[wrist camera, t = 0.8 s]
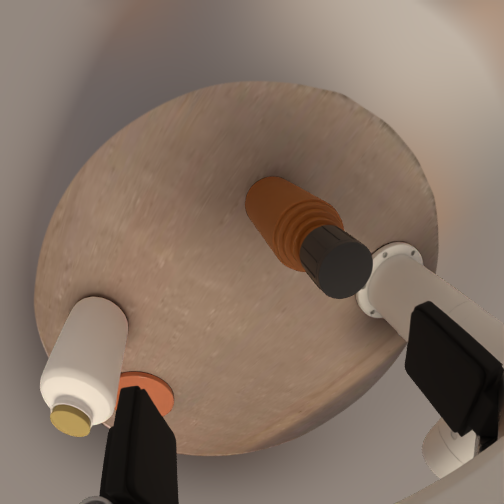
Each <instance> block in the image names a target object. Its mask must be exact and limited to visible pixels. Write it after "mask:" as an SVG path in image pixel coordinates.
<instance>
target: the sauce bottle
mask: <svg viewBox="0 0 504 504" xmlns="http://www.w3.org/2000/svg"><path fill="white" fill-rule="evenodd" d="M245 207H246V212H247V215H248V217H249V218H250V220H251V221H252V222H253V224H254V225H255V227H256V228H257V229H258V231H259V232H260V234H261V235H262V236H263V238H264V239H265V241H266V242H267V244H268V245H269V246H270V248H271V249H272V251H273V252H274V253H275V255H276V256H277V258H278V259H279V260H280V261H281V262H282V263H283V264H284V265H285V266H287V267H289V268H291V269H294V270H296V271H300V272H306V270H305V269H304V268H303V266H302V264H301V261H300V248H301V245H302V243H303V241H304V239H305V238H306V236H307V235H308V234H309V233H310V232H311V231H312V230H314V229H316V228H318V227H320V226H324V225H334V226H337V227H339V228H341V229H342V230H343V231H344V227H343V223H342V220H341V218H340V216H339V214H338V213H337V211H336V210H335V209H334V208H333V207H332V206H331V205H330V204H328V203H327V202H325V201H323V200H321V199H319V198H318V197H316V196H314V195H312V194H311V193H309V192H307V191H305V190H303V189H301V188H300V187H298V186H296V185H294V184H292V183H290V182H289V181H287V180H285V179H283V178H280V177H266V178H263V179H261V180H259V181H257V182H256V183H255V184H254V185H253V186H252V187H251V188H250V190H249V192H248V194H247V196H246V201H245Z"/></svg>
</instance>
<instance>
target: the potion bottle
mask: <svg viewBox="0 0 504 504" xmlns="http://www.w3.org/2000/svg"><path fill="white" fill-rule="evenodd" d="M127 335H128V322H127V319H126V317H125V314H124V313H123V312H122V311H121V309H120V308H119V307H118V306H117V305H115V304H114V303H113V302H111V301H109V300H107V299H104V298H101V297H88V298H84V299H82V300H80V301H79V302H77V303H76V304H75V306H74V307H73V308H72V310H71V312H70V314H69V316H68V318H67V320H66V322H65V324H64V326H63V328H62V330H61V333H60V335H59V337H58V339H57V341H56V343H55V346H54V348H53V350H52V352H51V355H50V357H49V359H48V362H47V364H46V366H45V369H44V371H43V374H42V376H41V381H40V390H41V393H42V396H43V398H44V401H45V402H46V403H47V405H48V406H49V407H50V408H51V415H50V419H51V422H52V423H53V425H54V426H55V427H56V428H57V429H59V430H60V431H62V432H64V433H65V434H68V435H71V436H76V437H83V436H86V435H88V434H89V433H90V428H91V427H92V425H96V424H99V423H102V422H104V421H106V420H107V419H108V418H110V417H111V416H112V414H113V411H114V409H115V406H116V399H117V393H118V386H119V380H120V374H121V368H122V362H123V356H124V351H125V345H126V340H127Z"/></svg>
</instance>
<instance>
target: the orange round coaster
mask: <svg viewBox="0 0 504 504" xmlns="http://www.w3.org/2000/svg"><path fill="white" fill-rule="evenodd" d="M130 386H139V387H140V388H141V389H145V390H146V391H147V393H148V395H149V396H150V398H151V399H152V401H153V403H154V404H155V406H156V407H157V409H158V411H159V412H160V414H161V415H162V417H163V416H165V415H166V414H168V413H169V412H170V411H171V409H172V407H173V405H174V395H173V392H172V390H171V388H170V387H169V386H168V384H167V383H165V382H164V381H163V380H161V379H160V378H158V377H156V376H154V375H151V374H148V373H143V372H125V373H121V374H120V380H119V386H118V393H117V399H116V406H115V410H117V404H118V399H119V394H120V390H121V388H124V387H130Z"/></svg>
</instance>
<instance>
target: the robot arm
mask: <svg viewBox="0 0 504 504" xmlns="http://www.w3.org/2000/svg"><path fill="white" fill-rule="evenodd" d="M372 258H373V269H372V273H371V276H370V278H369V280H368V282H367V283H366V284H365V286H364V287H363V288H362V289H361V290H360V291H359V292H357V293H356V300H357V303H358V305H359V307H360V308H361V309H362V310H363V312H364V313H366V314H367V315H368V316H371V317H374V318H384V319H385V320H386V321H387V322H388V323H389V324H390V325H391V326H392V327H393V328H394V329H395V330H396V331H397V333H398V335H399V336H402V337H403V339H404V340H405V341H406V342H407V343H408V345H407V353H406V360H405V369H406V372H407V374H408V375H409V376H410V377H411V379H412V380H413V381H414V382H415V384H416V385H417V386H418V387H419V389H420V390H421V391H422V392H423V394H424V395H425V396H426V398H427V399H428V400H429V401H430V403H431V404H432V405H433V407H434V408H435V409H436V410H437V412H438V413H439V414H440V416H441V419H440V420H439V421H438V422H437V423H436V424H435V425H434V426H433V427H432V429H431V430H430V431H429V432H428V434H427V435H426V437H425V439H424V441H423V445H422V454H423V457H424V460H425V462H426V464H427V465H428V467H429V468H430V469H431V471H432V472H433V473H434V474H435V475H436V476H437V477H438V478H440V480H438V481H436V482H435V483H433V484H431V485H429V486H428V487H426V488H424V489H422V490H421V491H418V492H417V493H415V494H413V495H411V496H409V497H407V498H405V499H403V500H401V501H399V502H397V503H395V504H504V323H502V322H501V321H499V320H498V319H497V318H495V317H494V316H492V315H491V314H490V313H488V312H487V311H485V310H484V309H482V308H481V307H480V306H479V305H477V304H476V303H475V302H473V301H472V300H471V299H469V298H468V297H467V296H465V295H464V294H463V293H461V292H460V291H459V290H457V289H456V288H454V287H453V286H452V285H450V284H449V283H447V282H446V281H444V280H443V279H442V278H440V277H439V276H437V275H436V274H434V273H433V272H432V271H430V270H429V269H427V268H426V267H424V266H423V260H422V257H421V255H420V253H419V252H418V250H417V249H415V248H414V247H413V246H411V245H410V244H407V243H404V242H394V243H390V244H388V245H385V246H383V247H382V248H380V249H378V250H377V251H376V252H375V253H374V254H373V255H372ZM176 457H177V456H176V439H175V436H174V434H173V432H172V430H171V429H170V427H169V426H168V424H167V423H166V421H165V420H164V418H163V417H162V415H161V414H160V412H159V411H158V409H157V407H156V406H155V404H154V403H153V401H152V399H151V398H150V396H149V395H148V393H147V391H146V390H145V389H141V388H140V387H139V386H130V387H124V388H121V390H120V394H119V399H118V404H117V410H116V416H115V421H114V426H113V427H111V428H110V429H109V432H108V438H107V444H106V450H105V457H104V464H103V471H102V478H101V487H100V496H92V497H88V498H86V499H84V500H83V501H82V502H81V503H80V504H179V502H178V484H177V461H176V460H177V458H176Z"/></svg>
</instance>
